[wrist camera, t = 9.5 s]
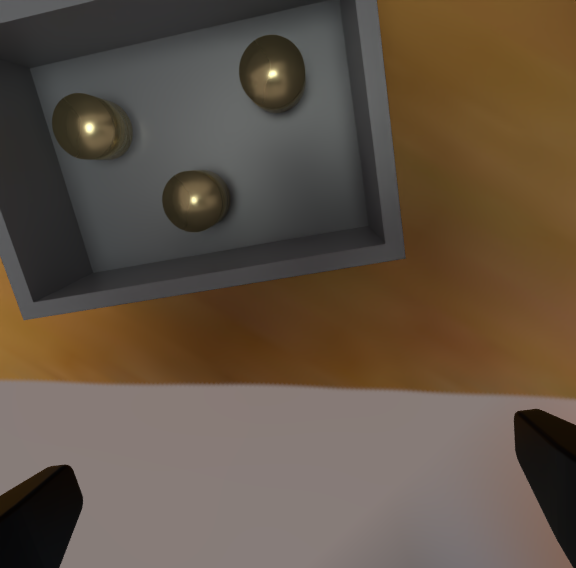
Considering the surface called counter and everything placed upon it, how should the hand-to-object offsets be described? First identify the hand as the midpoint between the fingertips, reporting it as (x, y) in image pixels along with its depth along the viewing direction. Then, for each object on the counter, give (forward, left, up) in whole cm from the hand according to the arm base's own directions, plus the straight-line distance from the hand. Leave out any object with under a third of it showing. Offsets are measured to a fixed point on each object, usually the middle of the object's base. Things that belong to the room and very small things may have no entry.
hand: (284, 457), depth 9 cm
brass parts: (+3, -7, -11) cm, 14 cm away
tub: (+3, -7, -12) cm, 14 cm away
